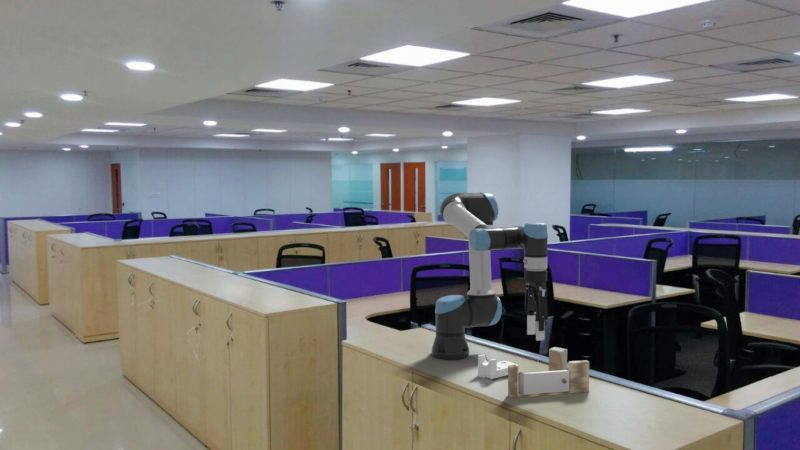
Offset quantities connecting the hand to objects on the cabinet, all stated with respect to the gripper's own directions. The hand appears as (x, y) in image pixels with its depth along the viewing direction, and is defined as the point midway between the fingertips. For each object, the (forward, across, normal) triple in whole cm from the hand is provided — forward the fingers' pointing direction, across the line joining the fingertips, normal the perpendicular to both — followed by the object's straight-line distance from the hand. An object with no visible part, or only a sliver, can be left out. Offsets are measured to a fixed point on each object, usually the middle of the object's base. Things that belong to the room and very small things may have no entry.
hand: (535, 337), depth 203 cm
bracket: (+18, -15, -8) cm, 24 cm away
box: (+17, -5, +10) cm, 21 cm away
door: (+17, +7, 0) cm, 18 cm away
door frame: (+17, +7, +2) cm, 19 cm away
